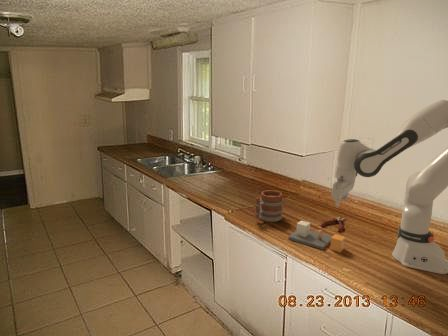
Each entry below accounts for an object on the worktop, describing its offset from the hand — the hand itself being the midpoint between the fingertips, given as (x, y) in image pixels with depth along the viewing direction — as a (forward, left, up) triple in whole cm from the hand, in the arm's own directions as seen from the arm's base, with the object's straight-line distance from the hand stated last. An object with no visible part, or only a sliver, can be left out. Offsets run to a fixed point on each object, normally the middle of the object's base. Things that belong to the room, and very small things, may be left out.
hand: (340, 202), depth 156 cm
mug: (+44, -11, -23) cm, 51 cm away
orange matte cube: (-1, +1, -23) cm, 23 cm away
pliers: (+8, -27, -23) cm, 36 cm away
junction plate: (+13, -1, -23) cm, 26 cm away
